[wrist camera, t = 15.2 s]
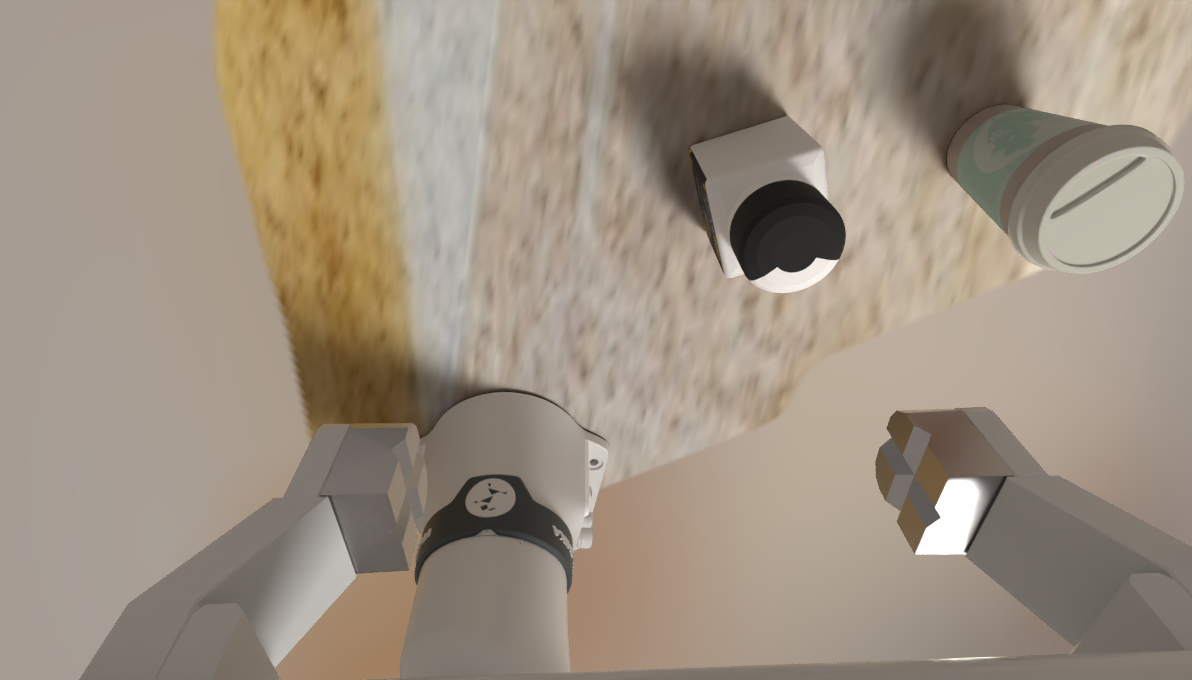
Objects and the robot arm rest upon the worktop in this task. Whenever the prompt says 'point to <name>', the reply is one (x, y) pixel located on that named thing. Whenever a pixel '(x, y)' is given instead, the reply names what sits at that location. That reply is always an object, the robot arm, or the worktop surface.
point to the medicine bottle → (768, 205)
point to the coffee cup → (1067, 185)
